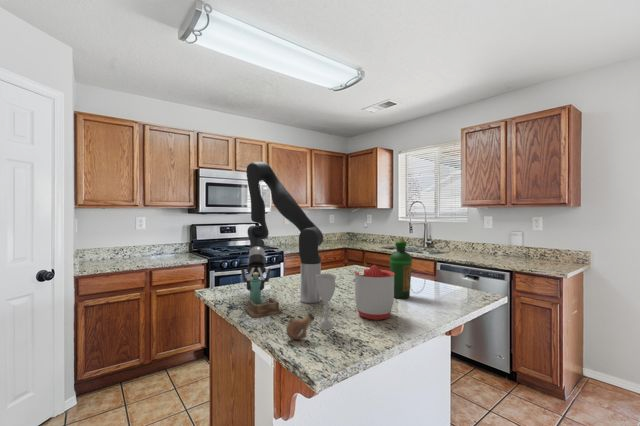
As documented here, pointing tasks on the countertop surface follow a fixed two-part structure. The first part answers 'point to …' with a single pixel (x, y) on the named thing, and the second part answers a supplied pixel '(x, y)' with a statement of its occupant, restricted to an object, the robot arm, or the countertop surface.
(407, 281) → the bottle
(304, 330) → the brown animal figurine
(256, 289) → the bottle
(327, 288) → the chalice
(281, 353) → the countertop surface
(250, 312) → the u rest
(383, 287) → the citrus juicer
